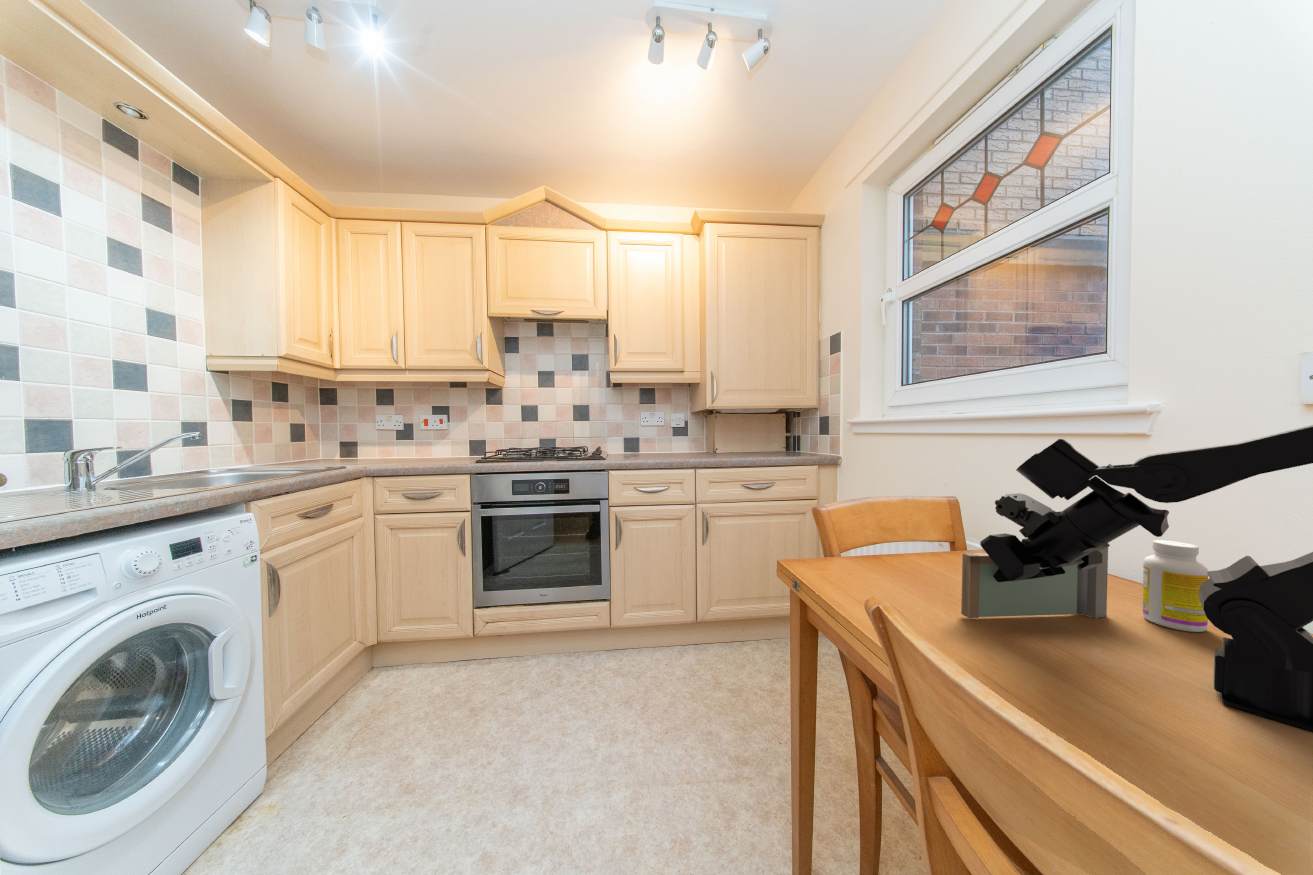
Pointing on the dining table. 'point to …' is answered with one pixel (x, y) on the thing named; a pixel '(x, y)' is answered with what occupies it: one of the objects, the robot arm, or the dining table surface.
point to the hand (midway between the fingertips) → (997, 578)
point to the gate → (1020, 591)
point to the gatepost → (1098, 588)
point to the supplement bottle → (1174, 586)
